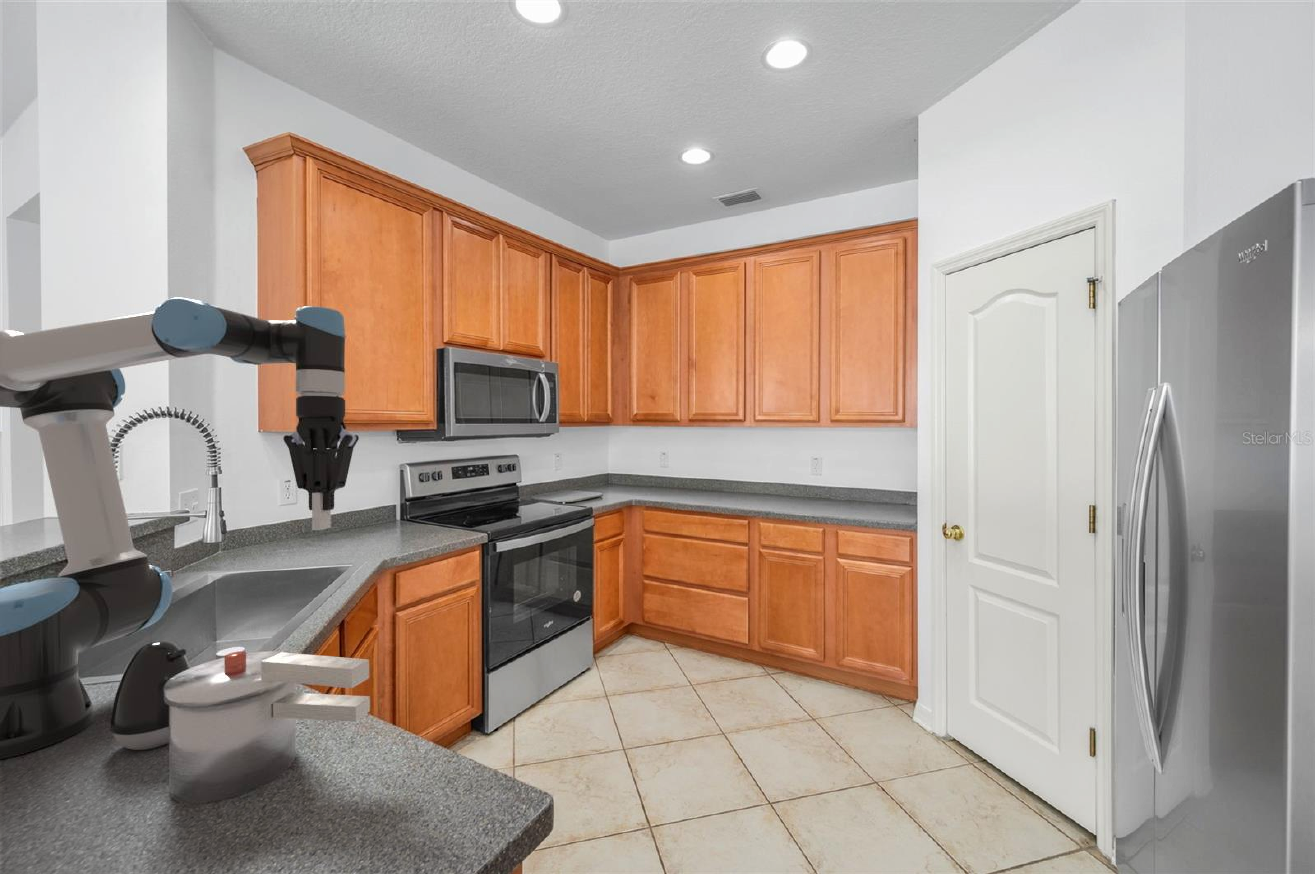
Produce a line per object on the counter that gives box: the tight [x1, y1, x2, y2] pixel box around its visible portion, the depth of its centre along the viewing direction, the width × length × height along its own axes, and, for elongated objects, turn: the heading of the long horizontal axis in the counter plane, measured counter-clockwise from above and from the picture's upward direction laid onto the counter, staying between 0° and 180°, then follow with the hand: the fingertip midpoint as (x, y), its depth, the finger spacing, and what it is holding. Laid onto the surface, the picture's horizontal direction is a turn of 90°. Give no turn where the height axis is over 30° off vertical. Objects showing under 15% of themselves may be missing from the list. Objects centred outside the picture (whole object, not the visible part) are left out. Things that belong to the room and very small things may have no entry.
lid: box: [164, 650, 370, 708], centre depth 77 cm, size 28×15×4 cm, turn 79°
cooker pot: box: [168, 682, 371, 805], centre depth 77 cm, size 26×14×12 cm, turn 84°
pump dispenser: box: [109, 640, 191, 751], centre depth 86 cm, size 10×10×15 cm
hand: (321, 528), depth 99 cm, fingers closed
